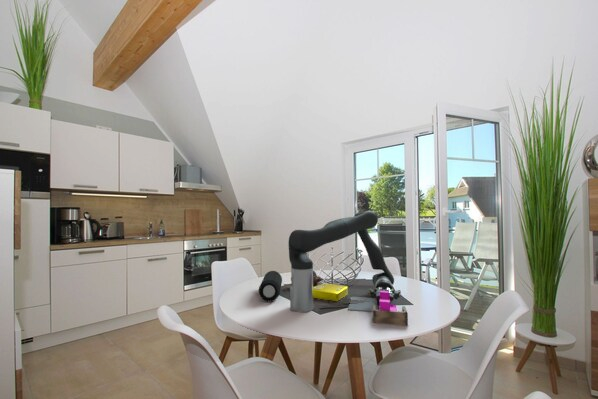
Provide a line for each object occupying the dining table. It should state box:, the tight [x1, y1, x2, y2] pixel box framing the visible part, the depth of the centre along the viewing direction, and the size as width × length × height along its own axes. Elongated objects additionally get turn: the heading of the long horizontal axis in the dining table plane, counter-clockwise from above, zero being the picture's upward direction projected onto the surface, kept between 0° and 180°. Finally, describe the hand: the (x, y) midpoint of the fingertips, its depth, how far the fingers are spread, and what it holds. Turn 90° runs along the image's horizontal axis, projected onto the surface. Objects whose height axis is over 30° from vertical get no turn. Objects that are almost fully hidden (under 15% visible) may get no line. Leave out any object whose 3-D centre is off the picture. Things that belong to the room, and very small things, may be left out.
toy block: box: [378, 291, 398, 311], centre depth 115 cm, size 15×6×8 cm, turn 164°
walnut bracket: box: [372, 304, 409, 326], centre depth 110 cm, size 12×8×4 cm, turn 77°
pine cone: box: [313, 270, 324, 287], centre depth 158 cm, size 18×10×10 cm, turn 83°
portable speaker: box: [258, 270, 283, 302], centre depth 145 cm, size 26×10×10 cm, turn 1°
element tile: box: [313, 282, 349, 302], centre depth 142 cm, size 15×15×5 cm
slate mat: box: [347, 296, 379, 313], centre depth 129 cm, size 12×18×1 cm, turn 167°
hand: (384, 298), depth 116 cm, fingers open, 4 cm apart
